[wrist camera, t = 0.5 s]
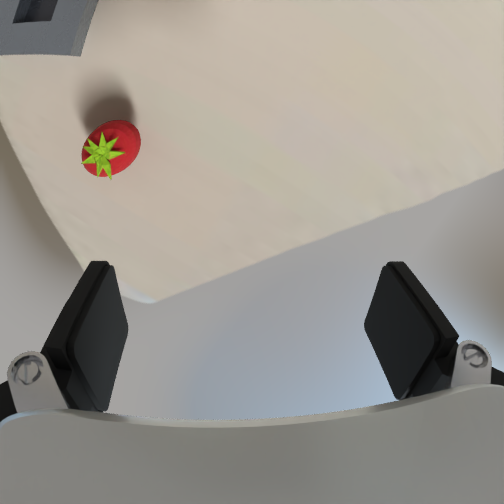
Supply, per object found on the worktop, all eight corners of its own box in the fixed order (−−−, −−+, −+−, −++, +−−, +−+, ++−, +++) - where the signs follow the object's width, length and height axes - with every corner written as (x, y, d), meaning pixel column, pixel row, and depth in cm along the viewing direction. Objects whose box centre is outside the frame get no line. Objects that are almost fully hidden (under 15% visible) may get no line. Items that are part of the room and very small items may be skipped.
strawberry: (160, 142, 36) (140, 162, 28) (114, 173, 37) (85, 201, 29) (137, 104, 33) (109, 112, 25) (91, 137, 35) (55, 156, 26)
